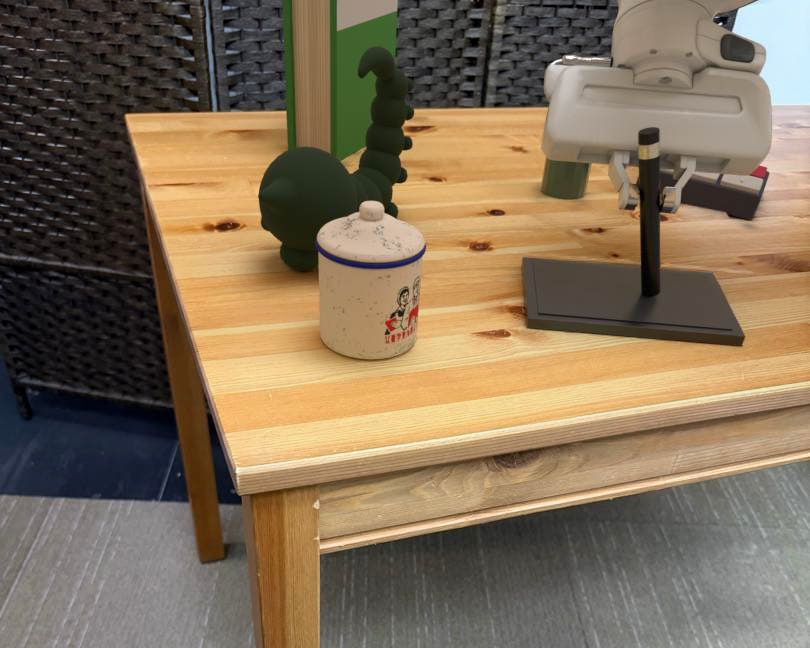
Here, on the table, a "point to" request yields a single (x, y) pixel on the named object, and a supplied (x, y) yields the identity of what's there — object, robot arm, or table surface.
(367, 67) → the toy figurine
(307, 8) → the hardback book
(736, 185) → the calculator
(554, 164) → the pen cup
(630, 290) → the tablet
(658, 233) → the stylus
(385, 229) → the teacup with lid
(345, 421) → the table surface
